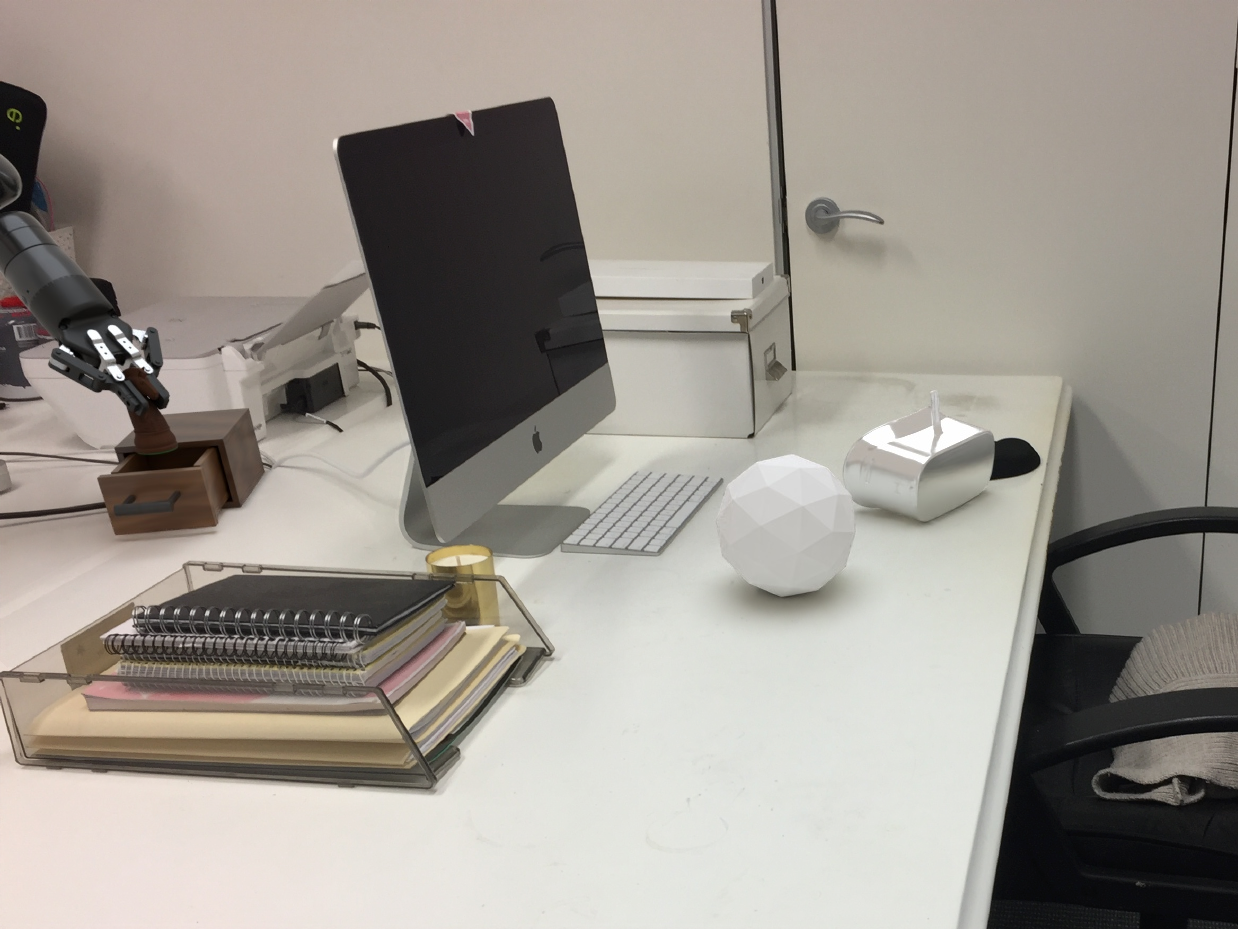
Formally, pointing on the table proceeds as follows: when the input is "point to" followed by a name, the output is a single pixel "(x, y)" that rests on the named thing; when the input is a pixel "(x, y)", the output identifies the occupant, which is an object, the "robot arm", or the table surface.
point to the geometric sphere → (786, 525)
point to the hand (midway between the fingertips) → (154, 407)
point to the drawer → (166, 491)
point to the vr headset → (920, 464)
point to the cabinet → (211, 430)
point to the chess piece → (149, 418)
